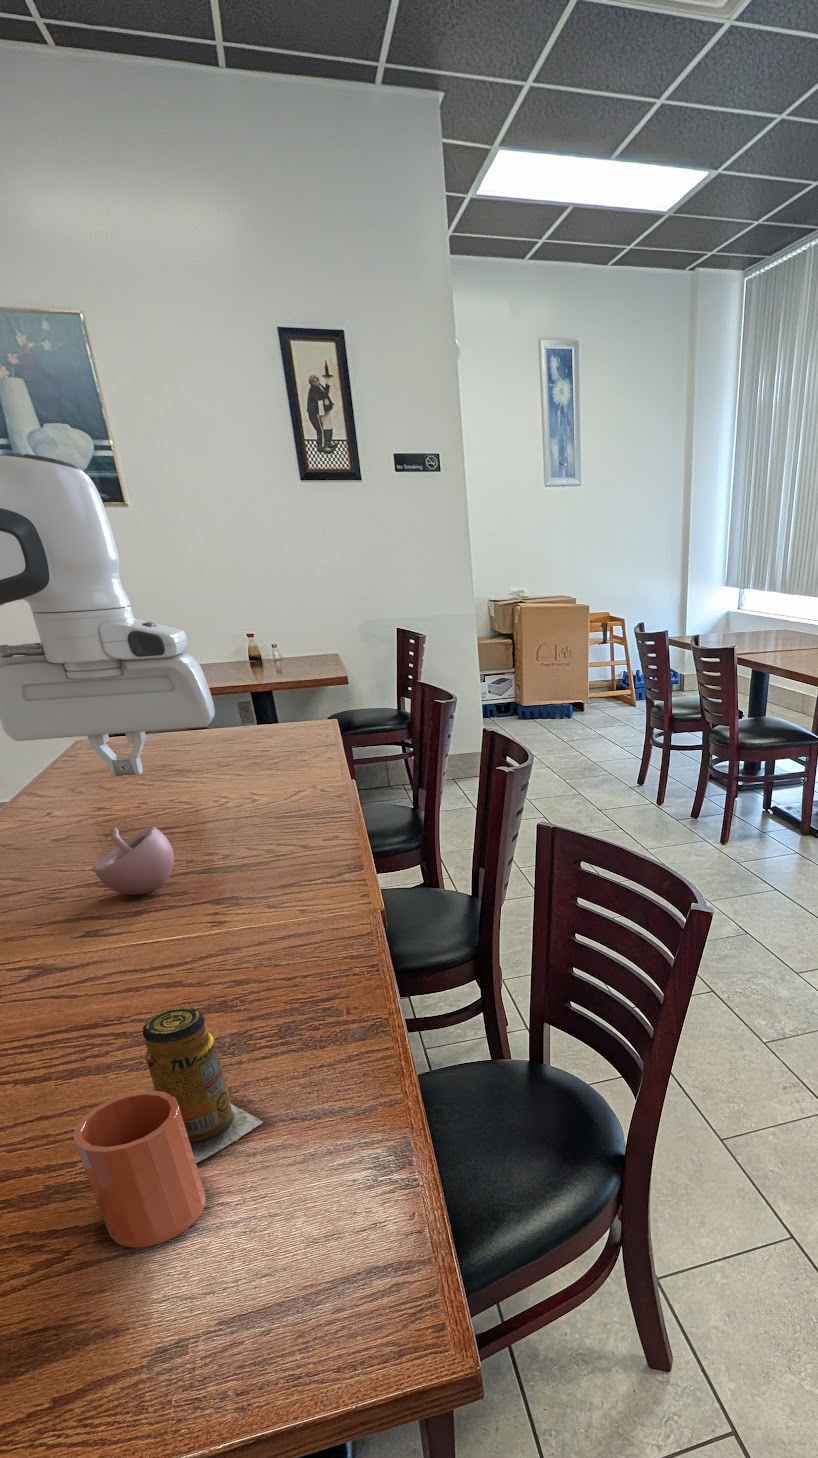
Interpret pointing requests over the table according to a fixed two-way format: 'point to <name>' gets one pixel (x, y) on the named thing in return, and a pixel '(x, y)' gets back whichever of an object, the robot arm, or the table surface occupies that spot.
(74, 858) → the table surface
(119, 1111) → the terracotta cup
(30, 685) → the robot arm
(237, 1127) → the condiment
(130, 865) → the mortar and pestle
